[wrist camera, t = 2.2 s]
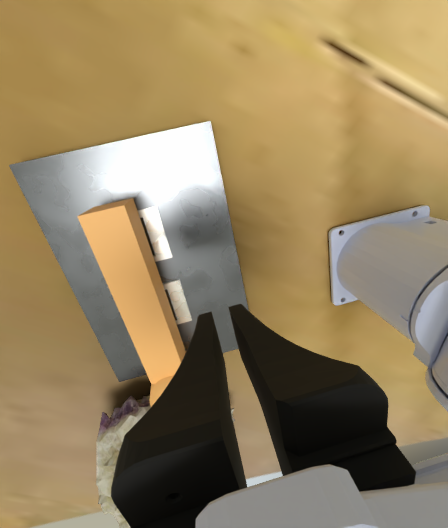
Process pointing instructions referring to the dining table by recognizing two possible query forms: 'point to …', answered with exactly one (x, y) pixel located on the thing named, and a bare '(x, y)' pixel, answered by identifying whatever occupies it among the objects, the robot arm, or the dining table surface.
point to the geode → (116, 449)
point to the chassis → (155, 226)
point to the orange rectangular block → (136, 288)
